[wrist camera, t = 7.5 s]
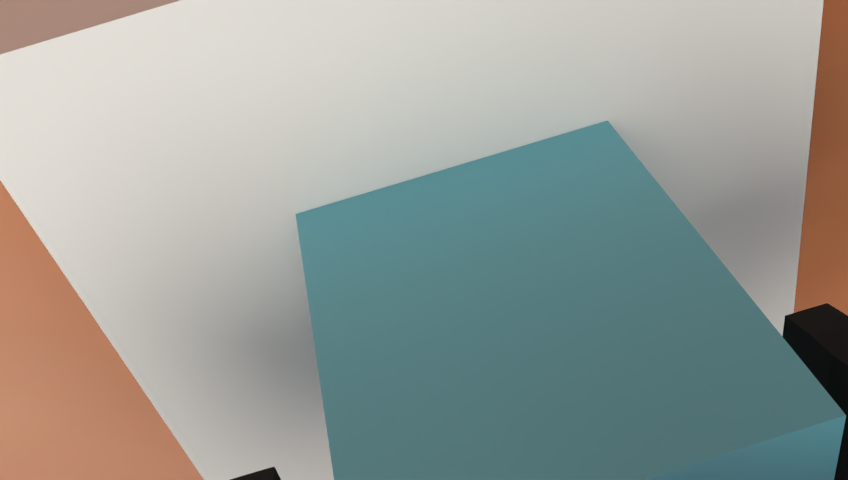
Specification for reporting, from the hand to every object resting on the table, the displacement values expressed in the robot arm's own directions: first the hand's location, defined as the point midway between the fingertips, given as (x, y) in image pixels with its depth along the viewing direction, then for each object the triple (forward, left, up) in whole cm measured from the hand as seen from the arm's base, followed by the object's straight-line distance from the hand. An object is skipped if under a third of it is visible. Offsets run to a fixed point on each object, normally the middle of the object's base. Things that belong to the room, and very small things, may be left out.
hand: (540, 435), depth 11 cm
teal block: (0, 0, -3) cm, 3 cm away
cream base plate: (0, 0, -6) cm, 6 cm away
